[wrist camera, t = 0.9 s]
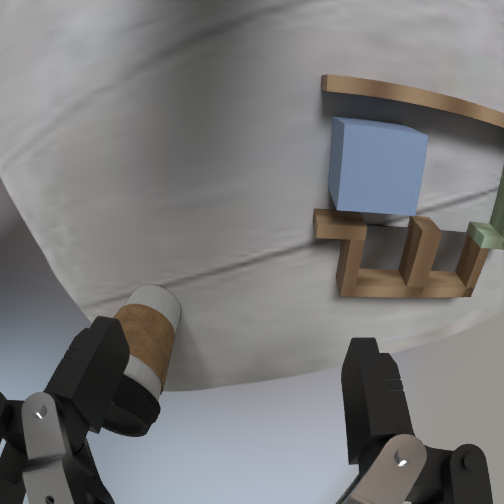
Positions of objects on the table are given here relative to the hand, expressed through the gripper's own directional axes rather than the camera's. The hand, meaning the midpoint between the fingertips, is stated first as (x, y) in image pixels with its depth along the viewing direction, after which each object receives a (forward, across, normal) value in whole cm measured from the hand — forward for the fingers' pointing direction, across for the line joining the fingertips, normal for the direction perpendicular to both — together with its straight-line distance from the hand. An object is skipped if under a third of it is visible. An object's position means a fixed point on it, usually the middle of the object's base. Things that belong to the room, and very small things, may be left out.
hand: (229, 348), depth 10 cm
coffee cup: (+18, +11, +15) cm, 26 cm away
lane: (+18, -14, 0) cm, 23 cm away
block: (+18, -8, -2) cm, 20 cm away
